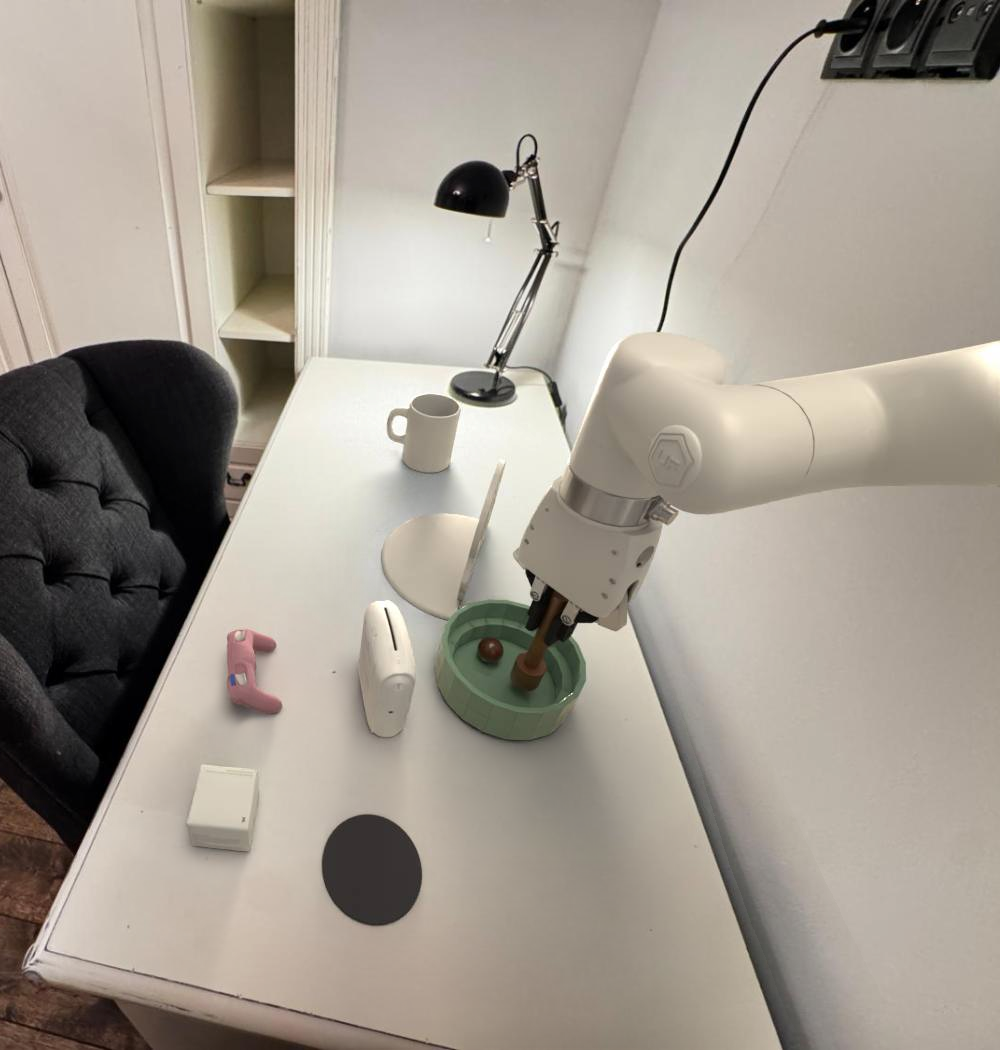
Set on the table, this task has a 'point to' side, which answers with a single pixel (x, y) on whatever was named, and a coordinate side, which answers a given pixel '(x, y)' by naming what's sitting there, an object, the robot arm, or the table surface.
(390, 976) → the table surface
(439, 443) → the mug
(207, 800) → the small box
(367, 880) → the coaster
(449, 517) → the ornament
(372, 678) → the photo printer
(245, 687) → the video game controller
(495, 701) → the bowl
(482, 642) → the chestnut
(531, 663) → the pestle
